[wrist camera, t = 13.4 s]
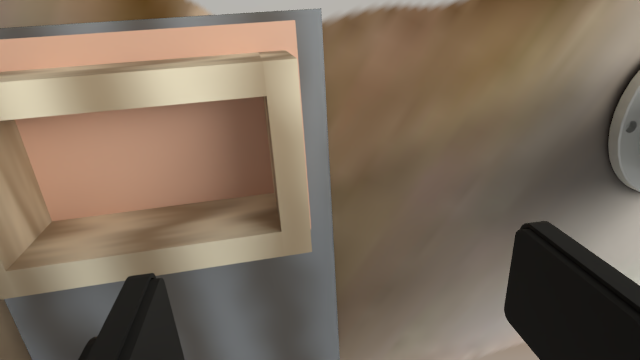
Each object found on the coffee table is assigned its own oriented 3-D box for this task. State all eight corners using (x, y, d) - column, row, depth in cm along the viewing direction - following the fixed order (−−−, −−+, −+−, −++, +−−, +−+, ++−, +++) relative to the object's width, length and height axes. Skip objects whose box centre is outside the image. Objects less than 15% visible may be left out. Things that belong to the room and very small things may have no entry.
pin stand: (317, 8, 22) (448, -7, 8) (336, 350, 33) (410, 604, 18) (-102, 34, 19) (-1011, 80, 5) (63, 403, 30) (-98, 755, 15)
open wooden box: (285, 50, 22) (297, 58, 17) (299, 210, 26) (312, 251, 21) (-37, 74, 19) (-121, 91, 15) (33, 247, 23) (-18, 302, 19)
